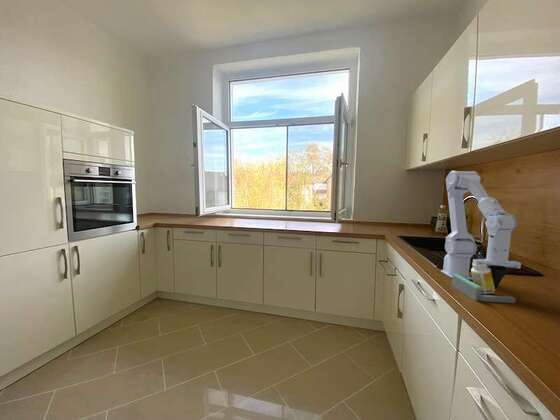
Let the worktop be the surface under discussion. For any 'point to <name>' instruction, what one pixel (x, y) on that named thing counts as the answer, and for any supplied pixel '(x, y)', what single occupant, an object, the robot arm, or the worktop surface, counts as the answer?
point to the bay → (476, 291)
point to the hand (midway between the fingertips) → (493, 286)
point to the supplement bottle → (483, 278)
